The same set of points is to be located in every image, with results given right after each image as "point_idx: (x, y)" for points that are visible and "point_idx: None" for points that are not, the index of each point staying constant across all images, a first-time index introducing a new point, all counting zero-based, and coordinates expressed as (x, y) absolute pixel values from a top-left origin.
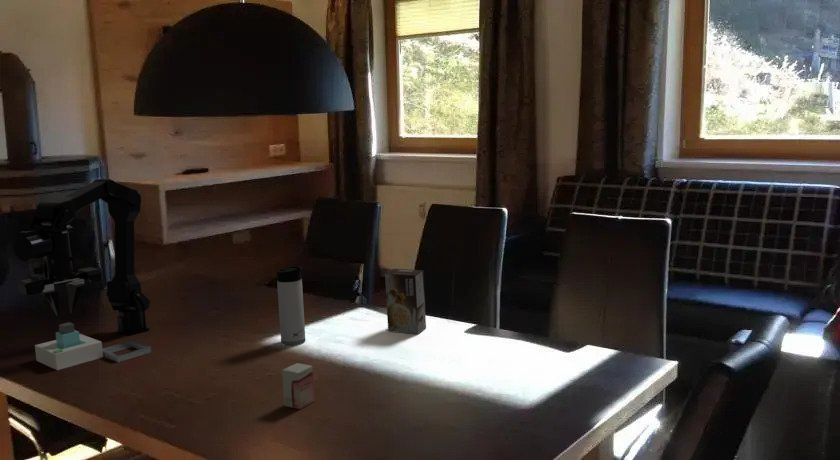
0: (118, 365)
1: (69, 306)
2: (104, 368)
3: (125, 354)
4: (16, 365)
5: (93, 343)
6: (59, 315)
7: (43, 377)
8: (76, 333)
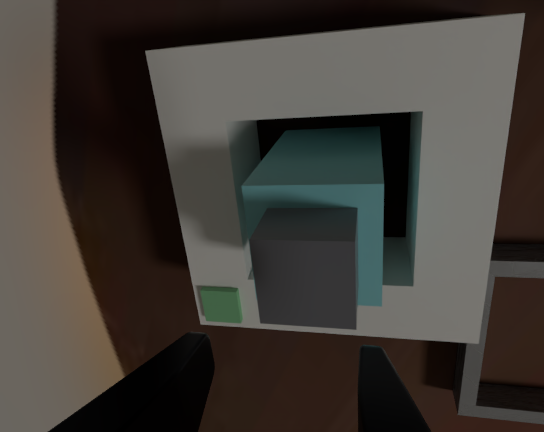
0: (430, 417)
1: (359, 415)
2: None
3: (505, 417)
4: (93, 38)
5: (427, 331)
6: (209, 380)
7: (165, 304)
8: (361, 298)
